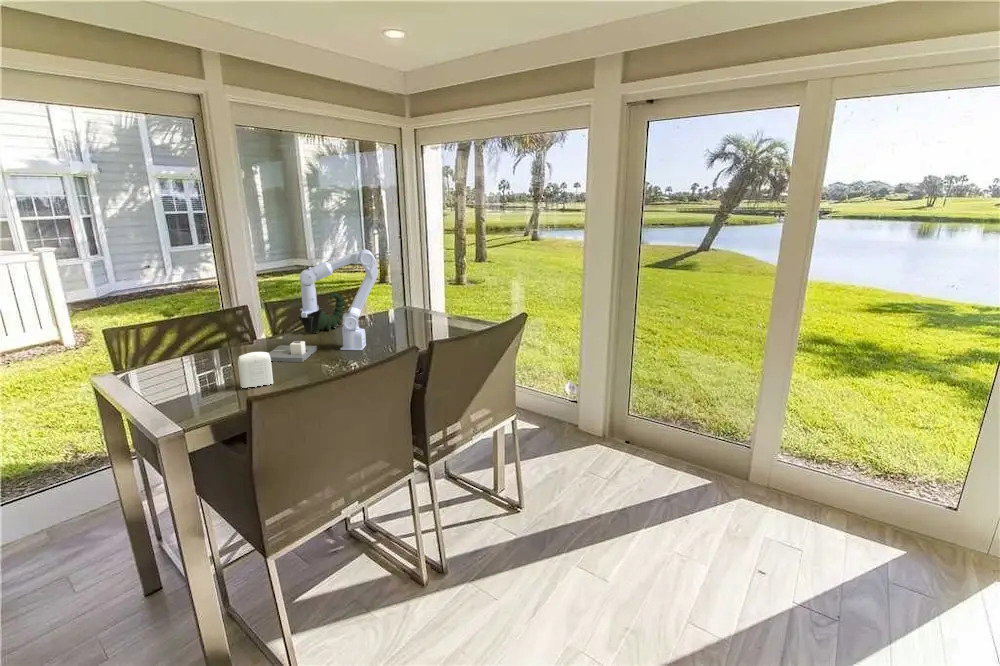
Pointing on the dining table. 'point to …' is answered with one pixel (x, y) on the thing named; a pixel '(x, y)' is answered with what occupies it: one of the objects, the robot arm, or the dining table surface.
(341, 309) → the toy figurine
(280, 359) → the socket plate
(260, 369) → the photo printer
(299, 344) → the block
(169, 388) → the dining table surface
